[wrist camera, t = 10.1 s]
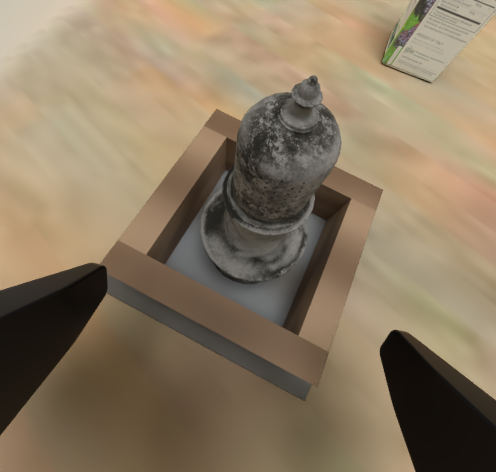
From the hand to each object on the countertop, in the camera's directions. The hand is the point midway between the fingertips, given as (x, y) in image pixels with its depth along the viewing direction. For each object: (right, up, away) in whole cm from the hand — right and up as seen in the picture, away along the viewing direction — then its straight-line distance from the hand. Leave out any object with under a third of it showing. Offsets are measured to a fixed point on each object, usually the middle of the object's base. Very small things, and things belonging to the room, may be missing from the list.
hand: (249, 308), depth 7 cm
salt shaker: (0, +2, +9) cm, 9 cm away
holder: (0, +2, +9) cm, 9 cm away
